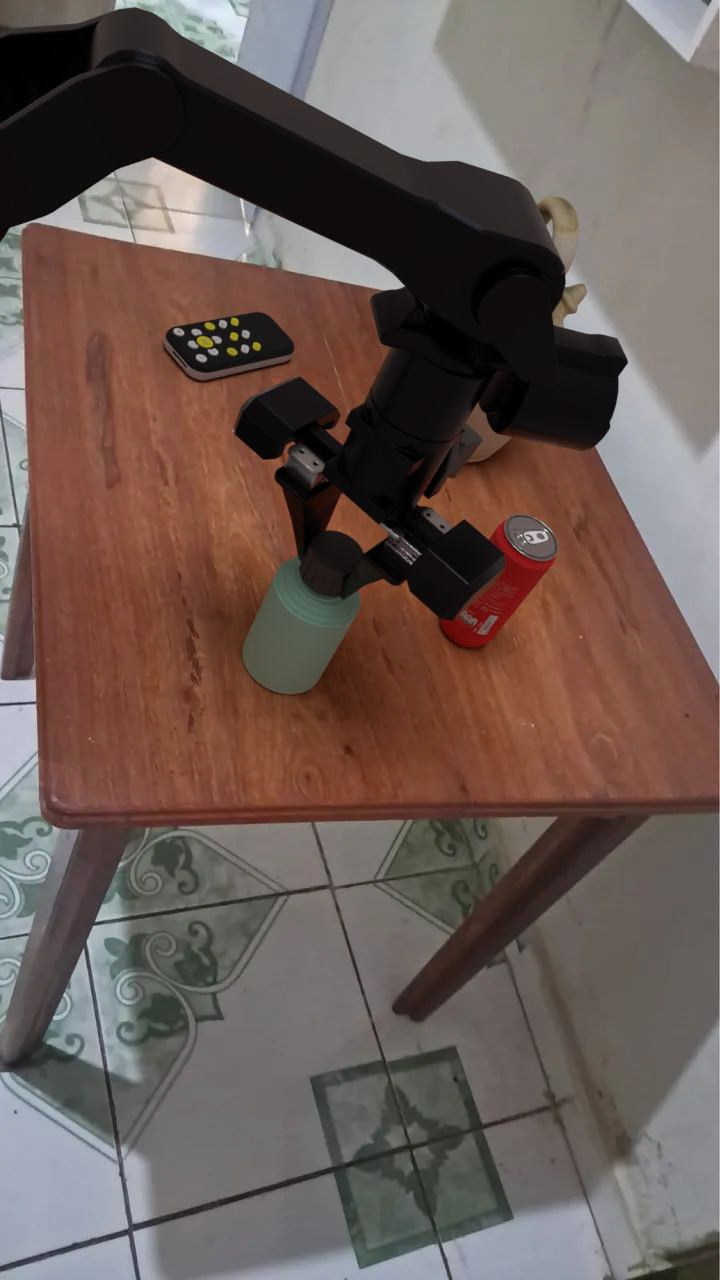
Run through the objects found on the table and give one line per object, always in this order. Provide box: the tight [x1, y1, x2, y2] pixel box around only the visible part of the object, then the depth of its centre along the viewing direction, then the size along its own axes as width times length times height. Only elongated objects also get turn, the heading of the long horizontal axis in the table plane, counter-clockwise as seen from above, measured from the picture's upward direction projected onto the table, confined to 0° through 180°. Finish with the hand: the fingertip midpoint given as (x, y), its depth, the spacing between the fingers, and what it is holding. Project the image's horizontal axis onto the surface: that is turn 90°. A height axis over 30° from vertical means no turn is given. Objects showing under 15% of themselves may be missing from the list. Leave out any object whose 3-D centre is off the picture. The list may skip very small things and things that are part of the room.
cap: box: [299, 529, 365, 597], centre depth 65 cm, size 4×4×2 cm
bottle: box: [241, 556, 361, 695], centre depth 69 cm, size 6×6×12 cm
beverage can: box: [440, 513, 559, 649], centre depth 78 cm, size 5×5×12 cm
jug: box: [466, 195, 588, 464], centre depth 90 cm, size 15×16×25 cm
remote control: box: [163, 311, 295, 381], centre depth 92 cm, size 6×13×2 cm, turn 131°
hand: (325, 577), depth 66 cm, fingers closed on cap, 3 cm apart
